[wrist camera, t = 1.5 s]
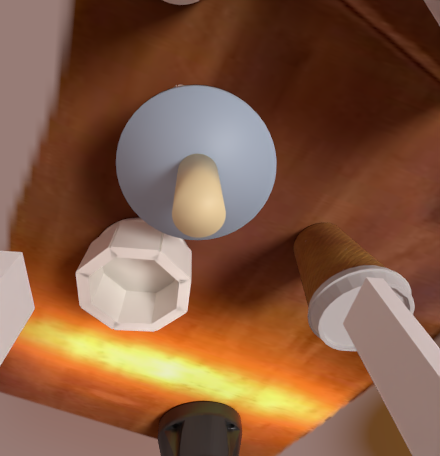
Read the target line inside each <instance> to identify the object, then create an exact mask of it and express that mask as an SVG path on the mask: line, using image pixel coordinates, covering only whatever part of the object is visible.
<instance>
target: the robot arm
mask: <svg viewBox="0 0 440 456" xmlns="http://www.w3.org/2000/svg"><path fill="white" fill-rule="evenodd" d="M34 309H35V306H34V302H33V298H32V293H31V289H30V284H29V280H28V276H27V271H26V267H25V263H24V258H23V254H22V252H10V251H0V365H1V364H2V362H3V360H4V359H5V357H6V355H7V354H8V352H9V351H10V349H11V347H12V346H13V344H14V342H15V341H16V339H17V337H18V336H19V334H20V332H21V331H22V329H23V327H24V326H25V324H26V323H27V321H28V319H29V318H30V316H31V314H32V313H33V311H34ZM343 325H344V327H345V329H346V331H347V333H348V335H349V337H350V338H351V340H352V342H353V344H354V346H355V348H356V350H357V352H358V354H359V355H360V357H361V359H362V361H363V363H364V365H365V367H366V369H367V371H368V372H369V374H370V376H371V378H372V380H373V382H374V384H375V386H376V388H377V390H378V391H379V393H380V395H381V397H382V399H383V401H384V403H385V405H386V406H387V408H388V410H389V412H390V414H391V416H392V418H393V420H394V422H395V423H396V425H397V427H398V429H399V431H400V433H401V435H402V436H403V439H404V440H405V443H406V444H407V446H408V448H409V450H410V452H411V454H412V456H440V348H439V347H438V346H437V345H436V343H435V342H434V341H433V340H432V338H431V337H430V336H429V335H428V333H427V332H426V331H425V330H424V328H423V327H422V326H421V325H420V323H419V322H418V321H417V320H416V318H415V317H414V316H413V315H412V314H411V312H410V311H409V310H408V309H407V307H406V306H405V305H404V304H403V302H402V301H401V300H400V299H399V297H398V296H397V295H396V294H395V292H394V291H393V290H392V289H391V287H390V286H389V285H388V284H387V282H386V281H385V280H384V279H383V278H371V277H366V278H365V280H364V282H363V284H362V286H361V288H360V290H359V292H358V294H357V296H356V298H355V300H354V302H353V304H352V306H351V308H350V310H349V312H348V314H347V316H346V318H345V320H344V322H343ZM241 438H242V426H241V418H240V416H239V414H238V413H237V412H236V411H235V410H234V409H233V408H231V407H229V406H227V405H224V404H221V403H216V402H193V403H187V404H183V405H180V406H178V407H175V408H173V409H171V410H170V411H168V412H167V413H166V414H165V415H164V416H163V417H162V418H161V420H160V422H159V429H158V443H159V448H160V453H161V456H239V451H240V445H241Z"/></svg>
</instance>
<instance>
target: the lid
mask: <svg viewBox="0 0 440 456" xmlns="http://www.w3.org/2000/svg"><path fill="white" fill-rule="evenodd" d="M116 171H117V177H118V181H119V185H120V188H121V190H122V193H123V195H124V197H125V199H126V200H127V202H128V204H129V205H130V206H131V208H132V209H133V210H134V212H135V213H136V214H137V215H138V216H139V217H140V218H141V219H142V220H144V221H145V222H146V223H147V224H149V225H150V226H152V227H153V228H155V229H157V230H158V231H160V232H162V233H165V234H167V235H170V236H173V237H177V238H181V239H188V240H207V239H213V238H218V237H221V236H224V235H227V234H229V233H232V232H234V231H236V230H238V229H239V228H241V227H243V226H244V225H245V224H247V223H248V222H249V221H250V220H252V219H253V218H254V217H255V216H256V215H257V214H258V212H259V211H260V210H261V209H262V207H263V206H264V204H265V203H266V201H267V199H268V197H269V195H270V193H271V191H272V188H273V185H274V181H275V175H276V152H275V148H274V143H273V140H272V138H271V135H270V133H269V131H268V129H267V127H266V125H265V124H264V122H263V121H262V119H261V118H260V117H259V115H258V114H257V113H256V112H255V111H254V110H253V109H252V108H251V107H250V106H249V105H248V104H247V103H245V102H244V101H243V100H241V99H240V98H239V97H237V96H235V95H233V94H231V93H230V92H227V91H225V90H222V89H219V88H216V87H211V86H206V85H184V86H179V87H174V88H171V89H168V90H166V91H163V92H161V93H159V94H157V95H155V96H154V97H152V98H151V99H149V100H148V101H147V102H145V103H144V104H143V105H142V106H141V107H140V108H139V109H138V110H137V111H136V112H135V113H134V114H133V116H132V117H131V118H130V120H129V121H128V123H127V124H126V126H125V128H124V130H123V132H122V134H121V137H120V140H119V143H118V148H117V153H116Z"/></svg>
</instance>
